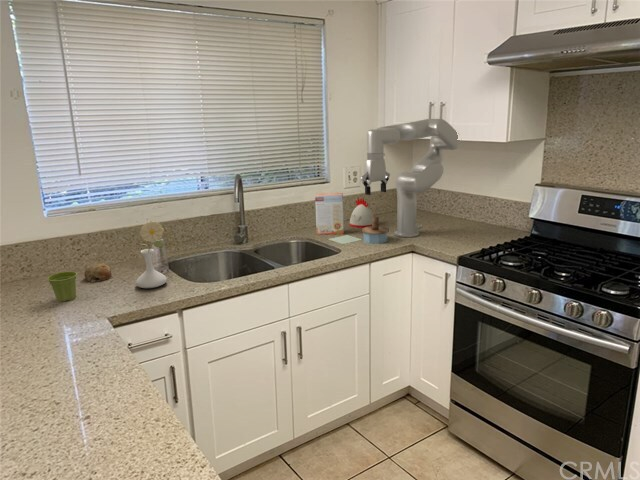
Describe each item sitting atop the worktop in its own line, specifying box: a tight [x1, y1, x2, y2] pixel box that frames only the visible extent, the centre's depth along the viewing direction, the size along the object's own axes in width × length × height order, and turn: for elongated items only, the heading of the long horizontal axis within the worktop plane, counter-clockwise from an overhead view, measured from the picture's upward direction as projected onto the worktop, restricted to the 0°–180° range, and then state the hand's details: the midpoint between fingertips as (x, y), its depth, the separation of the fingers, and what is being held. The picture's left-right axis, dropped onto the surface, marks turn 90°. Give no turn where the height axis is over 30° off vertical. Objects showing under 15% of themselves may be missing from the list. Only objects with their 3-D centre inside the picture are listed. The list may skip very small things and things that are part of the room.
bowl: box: [362, 232, 388, 244], centre depth 231 cm, size 11×11×5 cm
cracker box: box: [314, 192, 345, 236], centre depth 245 cm, size 14×6×21 cm, turn 84°
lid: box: [361, 216, 390, 234], centre depth 229 cm, size 13×13×7 cm
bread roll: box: [84, 262, 112, 283], centre depth 191 cm, size 10×10×8 cm
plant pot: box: [46, 271, 78, 302], centre depth 170 cm, size 9×9×9 cm
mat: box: [328, 234, 363, 245], centre depth 235 cm, size 12×12×1 cm
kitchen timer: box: [349, 197, 375, 229], centre depth 261 cm, size 14×14×15 cm
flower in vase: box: [135, 220, 168, 289], centre depth 178 cm, size 13×11×25 cm
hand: (375, 193), depth 225 cm, fingers open, 9 cm apart
